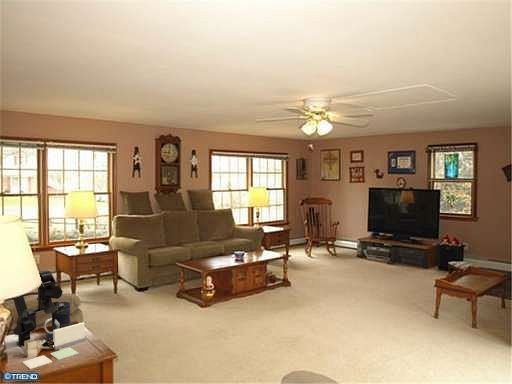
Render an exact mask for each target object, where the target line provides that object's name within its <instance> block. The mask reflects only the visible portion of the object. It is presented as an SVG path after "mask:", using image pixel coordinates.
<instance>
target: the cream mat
mask: <svg viewBox="0 0 512 384" xmlns="http://www.w3.org/2000/svg"><path fill="white" fill-rule="evenodd" d="M21 363H22V364H23V365H24V366H25V367H27V368H28V369H29V370H33V369H35V368H39V367H42V366H45V365H48V364H51V363H53V361H52V360H51V359H50V358H48V357H47V356H46V355H45V354H44V355H40V356H36V357H32V358H29V359H27V360H24V361H21Z"/></svg>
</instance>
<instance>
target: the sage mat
mask: <svg viewBox="0 0 512 384" xmlns="http://www.w3.org/2000/svg"><path fill="white" fill-rule="evenodd" d="M49 354H50V355H51V356H52V357H54V358H55V359H57V360H58V361H61V360H64V359H65V358H69V357H72V356H76V355H79V351H76V350H74V349H73V348H71V347H70V346H68V347H65V348H62V349H58V350H57V351H53V352H50V353H49Z"/></svg>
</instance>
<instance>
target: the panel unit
mask: <svg viewBox="0 0 512 384" xmlns="http://www.w3.org/2000/svg"><path fill="white" fill-rule="evenodd" d="M85 330H86V328H85V322H83V321H82V322H80V323H75V324H73V325H71V324H70V326H67V327H64V328H60V329H56V330H53V342H54V348H53V349H54V350H57V351H58V350H61V349H65V348H68V347H70V346H73V345H76V344H79V343H83V342H86V339H87V338H86V335H85V334H86V331H85Z"/></svg>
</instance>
